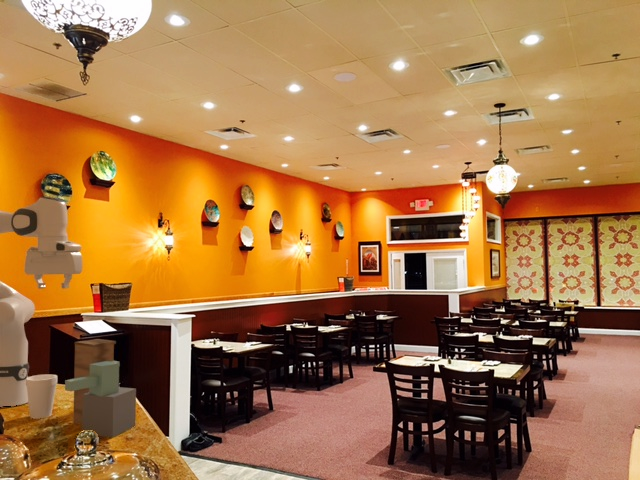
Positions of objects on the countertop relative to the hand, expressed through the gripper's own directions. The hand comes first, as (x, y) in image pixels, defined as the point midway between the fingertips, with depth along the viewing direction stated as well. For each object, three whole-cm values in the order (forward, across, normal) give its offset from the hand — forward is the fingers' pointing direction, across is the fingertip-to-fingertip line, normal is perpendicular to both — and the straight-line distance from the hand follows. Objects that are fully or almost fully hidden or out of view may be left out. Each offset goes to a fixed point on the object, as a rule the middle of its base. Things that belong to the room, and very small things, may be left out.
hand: (53, 288), depth 173 cm
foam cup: (+44, -10, +5) cm, 45 cm away
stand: (+44, +11, +5) cm, 45 cm away
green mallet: (+32, +21, -7) cm, 39 cm away
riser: (+44, +22, -1) cm, 49 cm away
